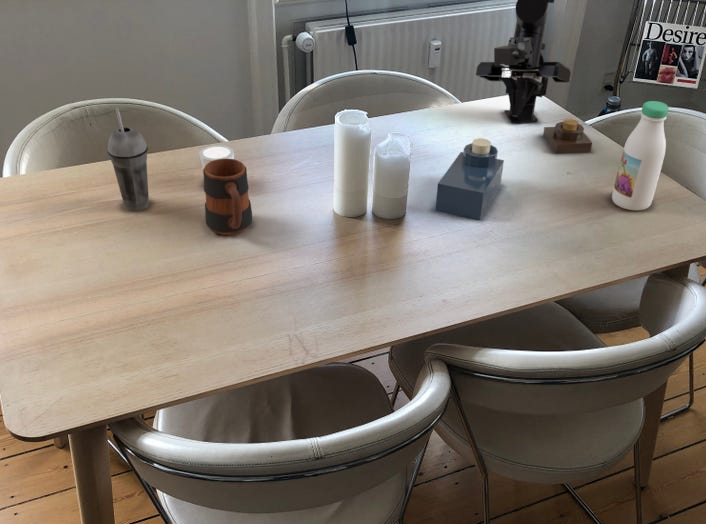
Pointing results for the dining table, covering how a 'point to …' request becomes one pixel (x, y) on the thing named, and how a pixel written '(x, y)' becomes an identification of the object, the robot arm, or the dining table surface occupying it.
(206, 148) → the shot glass
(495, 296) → the dining table surface
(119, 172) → the beverage cup
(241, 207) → the mug
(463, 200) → the blue push button box
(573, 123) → the brass button
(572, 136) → the switch block
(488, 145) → the white short cylinder
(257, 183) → the dining table surface
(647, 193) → the milk bottle
